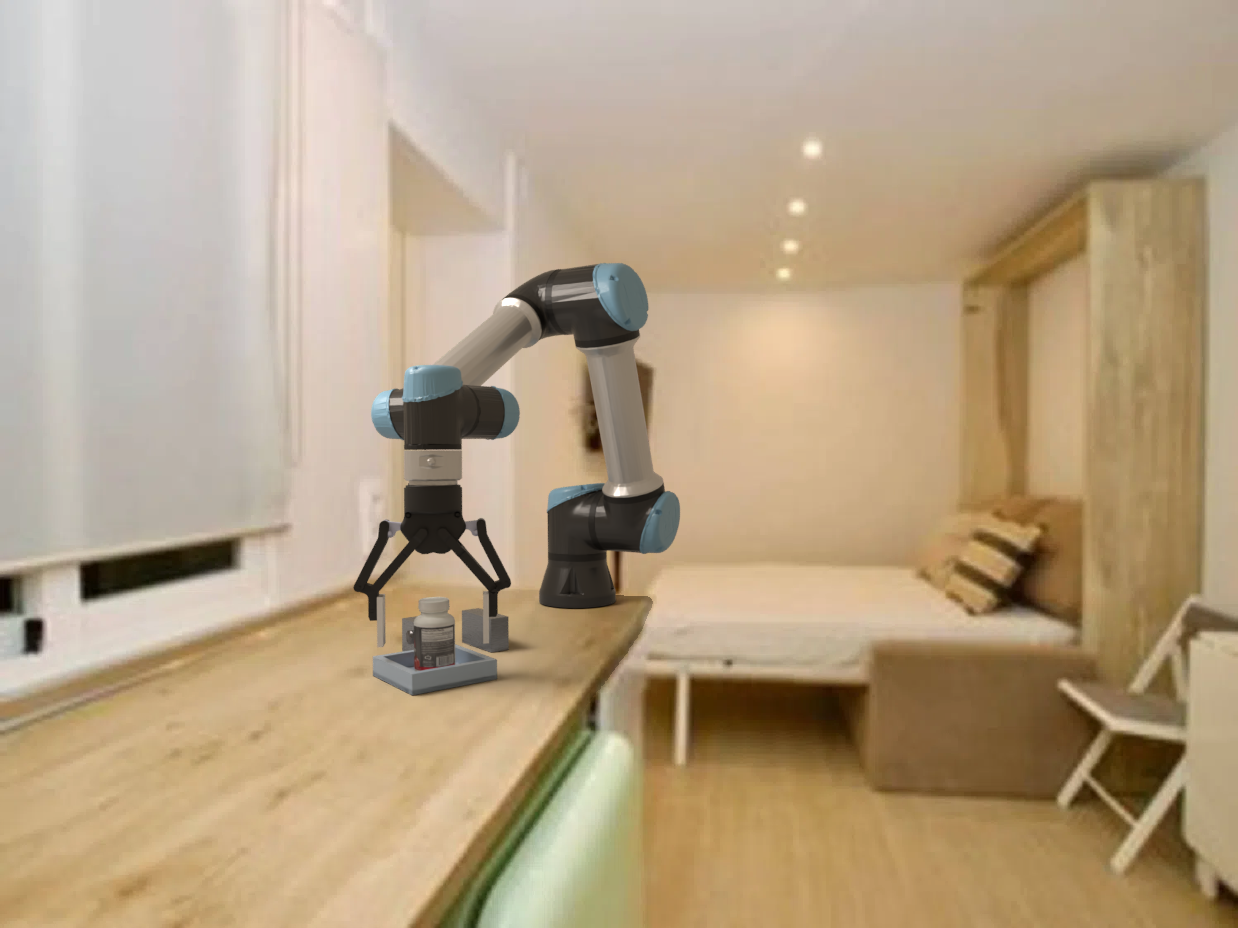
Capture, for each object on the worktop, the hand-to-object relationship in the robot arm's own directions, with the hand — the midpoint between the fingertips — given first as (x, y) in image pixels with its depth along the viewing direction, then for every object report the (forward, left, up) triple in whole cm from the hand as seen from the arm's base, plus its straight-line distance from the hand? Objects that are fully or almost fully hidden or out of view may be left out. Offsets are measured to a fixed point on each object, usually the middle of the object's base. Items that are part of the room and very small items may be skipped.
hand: (434, 643), depth 115 cm
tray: (0, 0, -4) cm, 4 cm away
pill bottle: (0, 0, -4) cm, 4 cm away
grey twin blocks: (-10, -12, -4) cm, 16 cm away
